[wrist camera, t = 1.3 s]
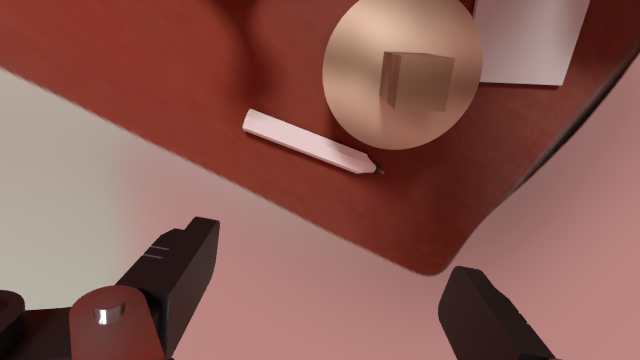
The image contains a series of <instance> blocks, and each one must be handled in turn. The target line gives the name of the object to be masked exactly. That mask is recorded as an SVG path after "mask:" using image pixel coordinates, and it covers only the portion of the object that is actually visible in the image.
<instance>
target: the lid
mask: <svg viewBox="0 0 640 360" xmlns="http://www.w3.org/2000/svg"><path fill="white" fill-rule="evenodd" d="M482 66H483V51H482V43H481V38H480V34H479V31H478V29H477V26H476V23H475V22H474V20H473V18H472V16H471V14H470V13H469V12H468V10H467V9H466V8H465V7H464V5H463V4H462V3H461V2H459V1H458V0H359V1H358V2H357V3H356V4H355V5H354V6H353V7H351V8H350V9H349V10H348V12H347V13H346V14H345V15H344V16H343V17H342V19H341V20H340V21H339V23H338V24H337V26H336V27H335V29H334V31H333V33H332V35H331V37H330V39H329V42H328V45H327V48H326V52H325V56H324V61H323V86H324V92H325V96H326V99H327V103H328V105H329V107H330V110H331V112H332V113H333V115H334V117H335V118H336V120H337V121H338V122H339V124H340V125H341V126H342V127H343V128H344V129H345V130H346V131H347V132H348V133H349V134H350V135H352V136H353V137H355V138H356V139H358V140H359V141H361V142H363V143H365V144H368V145H370V146H373V147H377V148H381V149H390V150H401V149H408V148H413V147H417V146H420V145H423V144H425V143H428V142H430V141H432V140H434V139H436V138H437V137H439V136H440V135H442V134H443V133H445V132H446V131H447V130H449V129H450V128H451V127H452V126H453V125H454V124H455V123H456V122H457V121H458V120H459V119H460V118H461V117H462V115H463V114H464V112H465V111H466V110H467V108H468V107H469V105H470V103H471V101H472V100H473V98H474V95H475V93H476V91H477V88H478V85H479V82H480V78H481V73H482Z"/></svg>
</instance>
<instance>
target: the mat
mask: <svg viewBox="0 0 640 360" xmlns="http://www.w3.org/2000/svg"><path fill="white" fill-rule="evenodd" d="M589 3H590V0H475V5H474V10H473V15H472V18H473V20H474V22H475V23H476V26H477V29H478V31H479V34H480V38H481V43H482V51H483V66H482V73H481V78H480V82H496V83H519V84H542V85H562V84H563V81H564V78H565V75H566V72H567V69H568V66H569V63H570V60H571V57H572V54H573V51H574V48H575V45H576V42H577V39H578V36H579V33H580V30H581V27H582V24H583V21H584V18H585V15H586V12H587V9H588V6H589Z"/></svg>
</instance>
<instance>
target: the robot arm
mask: <svg viewBox="0 0 640 360" xmlns="http://www.w3.org/2000/svg"><path fill="white" fill-rule="evenodd" d="M219 229H220V222H219V221H218V220H212V219H207V218H201V217H195V218H194V219H193V220H192V221H191V222H190V224H189V225H188V226H187V227H186V229H185V230H181V229H173V230H170V231H168V232H166V233H165V234H162V235H161V236H160V237H159V238H158V239H157V240H156V241H155V242H154V243H153V244H152V245H151V247H149V249H148V250H147V251H146V252H145V253H144V255H143V256H141V257H140V258H139V259H138V260H137V261H136V262H135V264H134V265H133V266H132V267H131V268H130V269H129V270H128V271H127V272H126V273H125V275H123V277H122V278H121V279H120V280H119V281H118V282H117V283H116V284H115V285H114V286H107V287H102V288H99V289H96V290H94V291H91V292H89V293H87V294H85V295H84V296H82V297H81V298H79V299H78V300H77V301H76V302H75V303H74V304H73V306H72V307H67V308H56V309H41V310H27V311H25V302H24V299H23V298H22V297H21V295H19V294H17V293H15V292H12V291H6V290H0V360H174V359H173V358H171V357H172V355H173V353H174V351H175V349H176V347H177V345H178V343H179V341H180V339H181V337H182V335H183V333H184V331H185V329H186V327H187V325H188V323H189V322H190V319H191V317H192V316H193V313H194V312H195V310H196V308H197V306H198V304H199V302H200V300H201V298H202V296H203V294H204V292H205V290H206V288H207V286H208V284H209V282H210V280H211V277H212V274H213V271H214V267H215V262H216V254H217V246H218V237H219ZM438 316H439V321H440V323H441V325H442V327H443V330H444V332H445V334H446V336H447V338H448V340H449V342H450V345H451V347H452V349H453V351H454V353H455V355H456V358H457V360H561V359H556V358H555V356H554V355H553V354H552V353H551V351H550V350H549V349H548V348H547V346H546V345H545V344H544V343H543V341H542V340H541V339H540V338H539V336H538V335H537V334H536V332H535V331H534V330H533V329H532V328H531V326H530V325H529V324H527V321H526V320H525V319H524V317H523V316H522V315H521V314H519V311H518V310H517V309H516V307H515V306H514V305H513V304H512V303H511V301H510V300H509V299H508V298H507V297H506V296H505V295H503V294H502V293H501V292H499V291H498V290H497V289H496V288H495V287H494V286H493V285H492V283H491V282H490V281H489V280H488V278H487V277H486V276H485V274H484V273H483V272H482V271H481V270H478V269H473V268H467V267H462V266H457V267H455V268H454V269H453V271H452V273H451V275H450V278H449V280H448V283H447V285H446V287H445V290H444V293H443V295H442V297H441V300H440V302H439V307H438Z"/></svg>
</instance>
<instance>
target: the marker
mask: <svg viewBox="0 0 640 360" xmlns="http://www.w3.org/2000/svg"><path fill="white" fill-rule="evenodd" d="M243 130H244V131H246V132H249V133H252V134H254V135H257V136H259V137H262V138H265V139H267V140H270V141H273V142H275V143H278V144H280V145H283V146H286V147H288V148H291V149H294V150H296V151H299V152H302V153H304V154H307V155H309V156H312V157H315V158H317V159H320V160H323V161H325V162H328V163H330V164H333V165H336V166H338V167H341V168H344V169H346V170H349V171H351V172H354V173H357V174H359V173H371V172H373V173H384V172H383V171H382V170H381V169H379V168H378V167H377V166H375V164H374V163H373V162H372V161H371V160H370V159H369V158H368V157H367V154H365V153H362V152H360V151H357V150H355V149H352V148H350V147H347V146H345V145H342V144H339V143H337V142H334V141H332V140H329V139H327V138H324V137H322V136H319V135H316V134H314V133H311V132H309V131H306V130H304V129H301V128H299V127H296V126H293V125H291V124H288V123H286V122H283V121H281V120H278V119H276V118H273V117H271V116H268V115H265V114H263V113H260V112H258V111H255V110H253V109H249V111H248V113H247V115H246V118H245V121H244V124H243Z"/></svg>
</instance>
